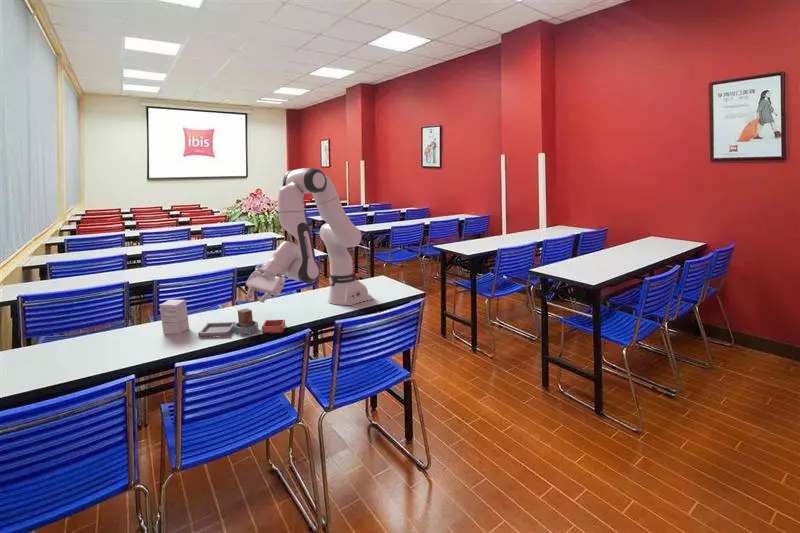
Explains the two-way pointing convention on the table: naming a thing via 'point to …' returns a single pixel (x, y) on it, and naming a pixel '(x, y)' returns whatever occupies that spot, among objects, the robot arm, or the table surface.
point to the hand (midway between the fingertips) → (254, 299)
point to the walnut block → (245, 318)
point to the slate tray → (217, 329)
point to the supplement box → (174, 316)
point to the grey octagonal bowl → (246, 328)
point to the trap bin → (273, 326)
